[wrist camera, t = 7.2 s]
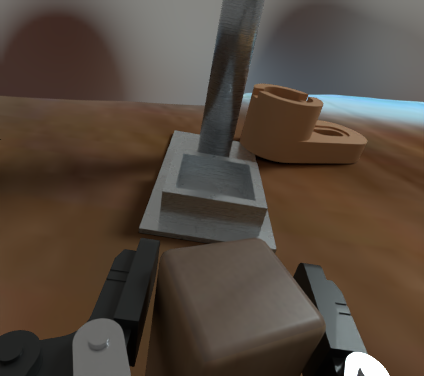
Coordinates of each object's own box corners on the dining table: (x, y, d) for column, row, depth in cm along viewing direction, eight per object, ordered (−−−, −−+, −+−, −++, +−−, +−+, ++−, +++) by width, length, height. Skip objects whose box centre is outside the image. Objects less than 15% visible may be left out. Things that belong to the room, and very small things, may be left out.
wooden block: (141, 381, 14) (157, 245, 10) (221, 357, 16) (263, 231, 12) (164, 496, 11) (201, 367, 7) (261, 450, 13) (336, 324, 9)
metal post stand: (251, 147, 40) (331, -158, 26) (274, 253, 23) (542, -466, 9) (174, 133, 40) (214, -187, 26) (138, 232, 22) (201, -580, 8)
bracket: (259, 162, 36) (278, 102, 32) (229, 133, 42) (242, 80, 39) (370, 163, 43) (395, 115, 40) (331, 138, 49) (349, 94, 46)
